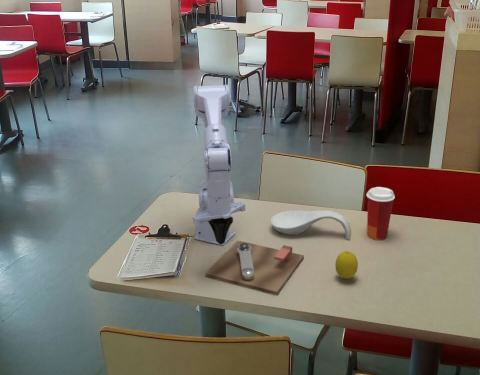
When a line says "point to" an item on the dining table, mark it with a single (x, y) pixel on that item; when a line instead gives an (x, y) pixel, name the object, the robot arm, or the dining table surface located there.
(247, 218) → the dining table surface
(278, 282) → the board
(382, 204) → the paper cup
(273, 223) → the spoon rest
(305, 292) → the dining table surface
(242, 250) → the link
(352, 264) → the lemon
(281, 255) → the keeper
